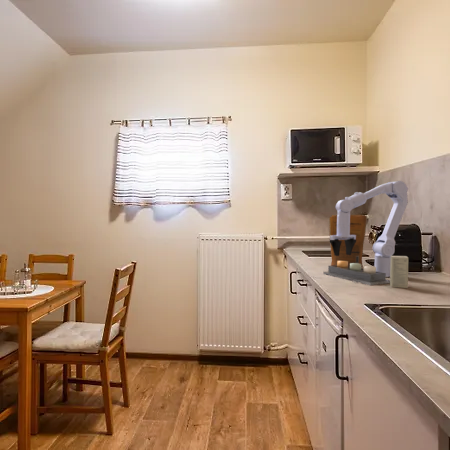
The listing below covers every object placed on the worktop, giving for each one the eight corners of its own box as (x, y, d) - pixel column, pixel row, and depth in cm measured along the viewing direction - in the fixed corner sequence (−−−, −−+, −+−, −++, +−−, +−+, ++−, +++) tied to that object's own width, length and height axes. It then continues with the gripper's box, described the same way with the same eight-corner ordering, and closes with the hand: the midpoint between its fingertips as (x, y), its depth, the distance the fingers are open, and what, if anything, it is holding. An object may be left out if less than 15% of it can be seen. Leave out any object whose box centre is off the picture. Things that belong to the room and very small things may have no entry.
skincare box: (406, 286, 147) (407, 256, 147) (408, 288, 143) (409, 257, 143) (389, 284, 149) (390, 255, 149) (390, 287, 145) (391, 256, 145)
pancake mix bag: (365, 269, 190) (366, 214, 189) (327, 266, 197) (328, 214, 196) (365, 267, 196) (367, 214, 195) (329, 264, 204) (330, 214, 202)
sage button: (355, 270, 166) (355, 262, 166) (363, 271, 162) (363, 264, 162) (347, 270, 164) (347, 263, 164) (355, 272, 160) (355, 264, 160)
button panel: (342, 272, 178) (342, 264, 178) (391, 283, 153) (391, 273, 153) (323, 273, 173) (323, 265, 173) (370, 285, 148) (370, 275, 148)
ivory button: (369, 273, 159) (369, 265, 159) (378, 275, 155) (378, 267, 155) (361, 273, 157) (361, 265, 157) (369, 275, 153) (370, 267, 153)
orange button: (342, 267, 174) (342, 260, 173) (350, 269, 169) (350, 261, 169) (334, 268, 171) (335, 261, 171) (342, 269, 167) (342, 262, 167)
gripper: (347, 225, 176) (347, 253, 176) (325, 225, 169) (324, 255, 169) (359, 225, 170) (358, 255, 170) (336, 226, 163) (336, 256, 163)
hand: (342, 255), depth 169 cm, fingers open, 7 cm apart
